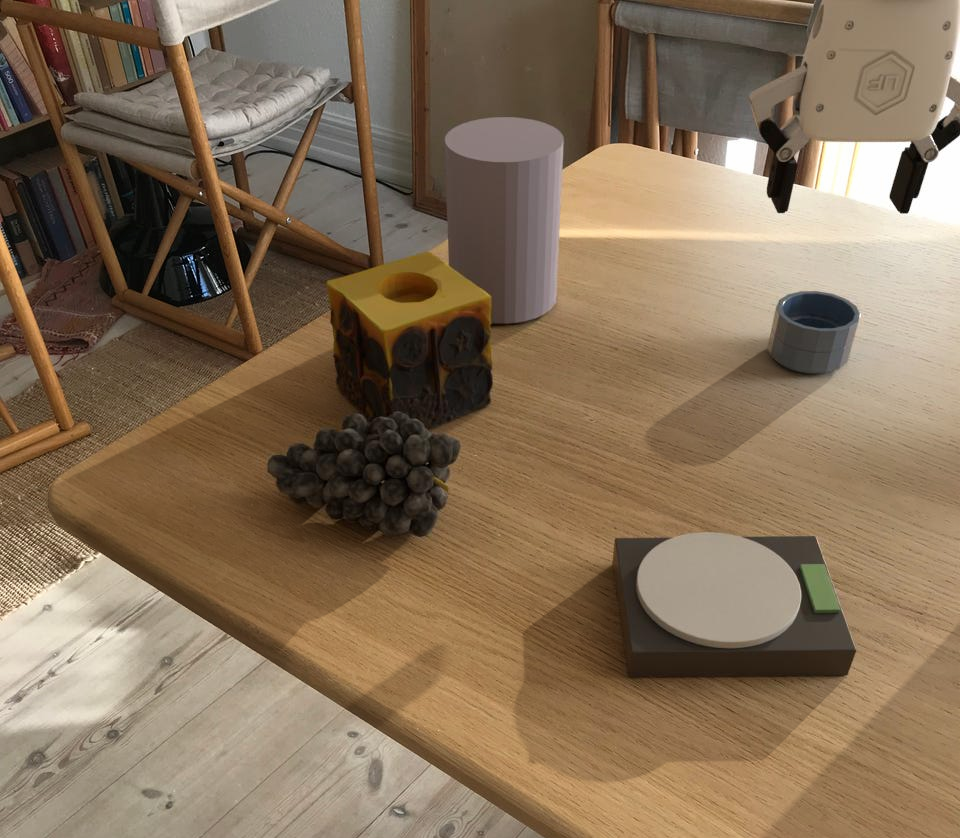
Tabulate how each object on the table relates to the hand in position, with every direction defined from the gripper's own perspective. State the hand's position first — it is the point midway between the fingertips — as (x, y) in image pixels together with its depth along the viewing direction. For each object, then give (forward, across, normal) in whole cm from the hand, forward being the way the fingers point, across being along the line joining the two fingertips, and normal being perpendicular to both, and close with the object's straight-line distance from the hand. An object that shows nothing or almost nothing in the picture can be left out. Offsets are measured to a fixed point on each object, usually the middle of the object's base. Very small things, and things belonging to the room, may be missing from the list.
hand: (838, 206), depth 83 cm
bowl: (+13, 0, 0) cm, 13 cm away
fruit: (+14, -38, -21) cm, 45 cm away
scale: (+13, -12, -33) cm, 38 cm away
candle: (+14, -34, -6) cm, 38 cm away
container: (+14, -26, +11) cm, 32 cm away
